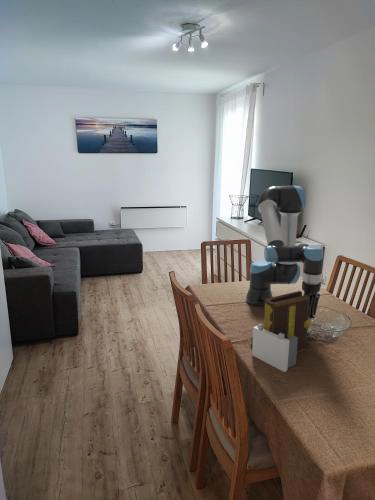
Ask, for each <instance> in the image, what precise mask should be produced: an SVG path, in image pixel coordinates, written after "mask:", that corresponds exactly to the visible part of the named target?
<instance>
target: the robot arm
mask: <svg viewBox="0 0 375 500" xmlns="http://www.w3.org/2000/svg"><path fill="white" fill-rule="evenodd" d="M306 204H307V196H306V193H305V189H304V188H303V187H302V186H301V185H272V186H269V187H267V188H265V189H264V190H263V191H262V192H261V193H260V195H259V197H258V199H257V209H258V210H257V211H258V212H259V213H260V215H261V220H262V225H263V229H264V234H265V239H266V246H264V252H263V254H264V255H263V256H264V259H259V260H258V259H257V260H254V261H253V262H252V263H251V264H250V267H249V288H248V290H247V293H246V296H245V302H246V303H248V304H249V305H251V306H254V307H264V306H265V299H267V298H271V297H274V296H273V293H272V289H271V285H294V284H296V283H297V282H298V281H299V279H300V277H301V265H300V264H299V263H303V267H302V282H301V284H302V285H301V289H302V291H303V292H304V293H303V295H309V296H310V303H309V316H308V317H309V318H310V319H311V326H310V327H309V328H307V333H311V332H312V325H313V324H312V323H313V319H315V316H316V313H317V309H318V304H319V299H320V297H321V294H320V293H319V292H320V291H321V285H322V284H321V282H322V271H323V270H322V269H323V260H324V248H323V247H322V246H319V245H310V244H307V243H305V242H304V243H301V242H300V244H297V243H296V242H297V232H298V231H297V229H298V218H299V217H298V216H299V215H300V214H302V209H304V208H306ZM277 209H278V213H279V214H280V220H279V216H278V213H277ZM310 331H311V332H310Z"/></svg>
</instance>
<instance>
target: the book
mask: <svg viewBox="0 0 375 500" xmlns="http://www.w3.org/2000/svg"><path fill="white" fill-rule="evenodd" d="M309 303H310V296H309V295H304V294H303V292H302V291H301V290H297V291H294V292H291V293H285V294H280V295H277V296H273V297H271V298H267V299H265V306H263V307H264V311H263V325H264V328H263V329H265V330H267V331H269V332H272V333H274V334H276V335H278V334H279V333H282V334H284V335H285V337H284V338H285V339H287V338H290V337H293V336H296V337H298V341H297V354H299V353H302V352H306V349H307V338H308V337H307V336H308V332H307V328H309V327H310V326H311V319H310V318H309V317H308V316H309Z"/></svg>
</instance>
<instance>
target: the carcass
mask: <svg viewBox="0 0 375 500" xmlns="http://www.w3.org/2000/svg"><path fill="white" fill-rule="evenodd" d="M263 328H264V324H261V323H258V325H255V326H253V327H252V335H253V345H252V354H251V356H252V355H253V357H254V358H257V359H259V360H260V361H262V362H264V363H266V364H268V365H270V366H272V367H274V368H275V369H277V370H279V371H281V372H283V373H285V372H287V371H288V368H291V367H293V366H295V365H296V364H297V354H298V353H297V341H298V337H296V336H293V337H290V338H287V339H285V338H284V337H285V335H284V334H282V333H279V334H278V335H276V334H274V333H272V332H269V331H267V330H265V329H263Z"/></svg>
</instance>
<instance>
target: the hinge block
mask: <svg viewBox="0 0 375 500" xmlns="http://www.w3.org/2000/svg"><path fill="white" fill-rule="evenodd" d="M250 345H252V346H253V334H252V335H251V337H250Z"/></svg>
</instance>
